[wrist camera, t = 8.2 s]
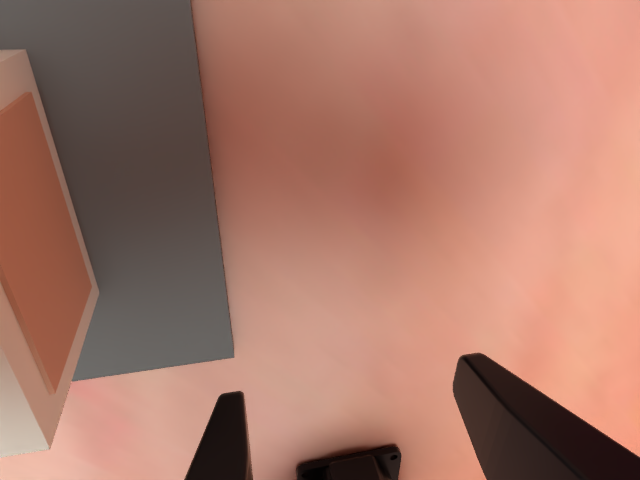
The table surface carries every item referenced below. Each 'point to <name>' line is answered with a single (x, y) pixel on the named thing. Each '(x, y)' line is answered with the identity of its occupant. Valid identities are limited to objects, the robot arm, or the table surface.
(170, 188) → the charcoal mat
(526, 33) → the table surface
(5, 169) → the cream rectangular block
